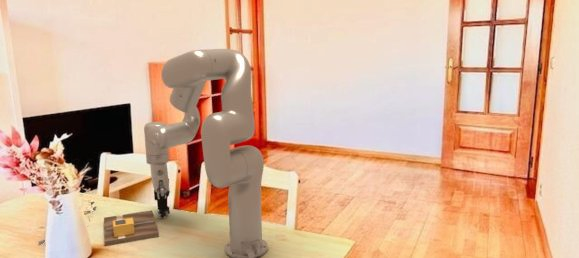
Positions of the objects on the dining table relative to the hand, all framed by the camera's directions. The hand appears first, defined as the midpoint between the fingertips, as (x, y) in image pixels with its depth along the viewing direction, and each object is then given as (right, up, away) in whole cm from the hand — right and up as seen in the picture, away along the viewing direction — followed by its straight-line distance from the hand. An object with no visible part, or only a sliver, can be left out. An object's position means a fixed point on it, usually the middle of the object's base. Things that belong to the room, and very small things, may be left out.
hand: (160, 204), depth 154 cm
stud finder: (-7, -6, -15) cm, 18 cm away
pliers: (-29, -8, -13) cm, 33 cm away
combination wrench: (-31, -6, 0) cm, 31 cm away
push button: (0, -5, +1) cm, 5 cm away
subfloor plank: (-8, -7, -9) cm, 13 cm away
